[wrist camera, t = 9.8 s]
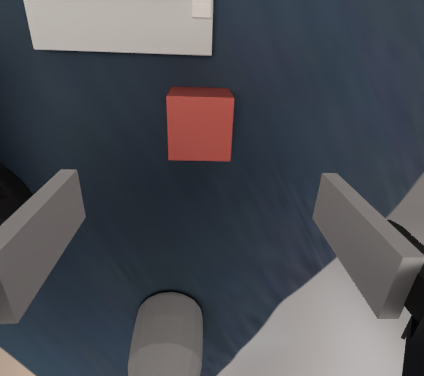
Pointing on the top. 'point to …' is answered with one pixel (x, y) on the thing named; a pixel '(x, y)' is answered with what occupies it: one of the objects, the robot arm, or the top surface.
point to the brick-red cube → (199, 123)
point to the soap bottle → (167, 337)
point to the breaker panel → (122, 25)
